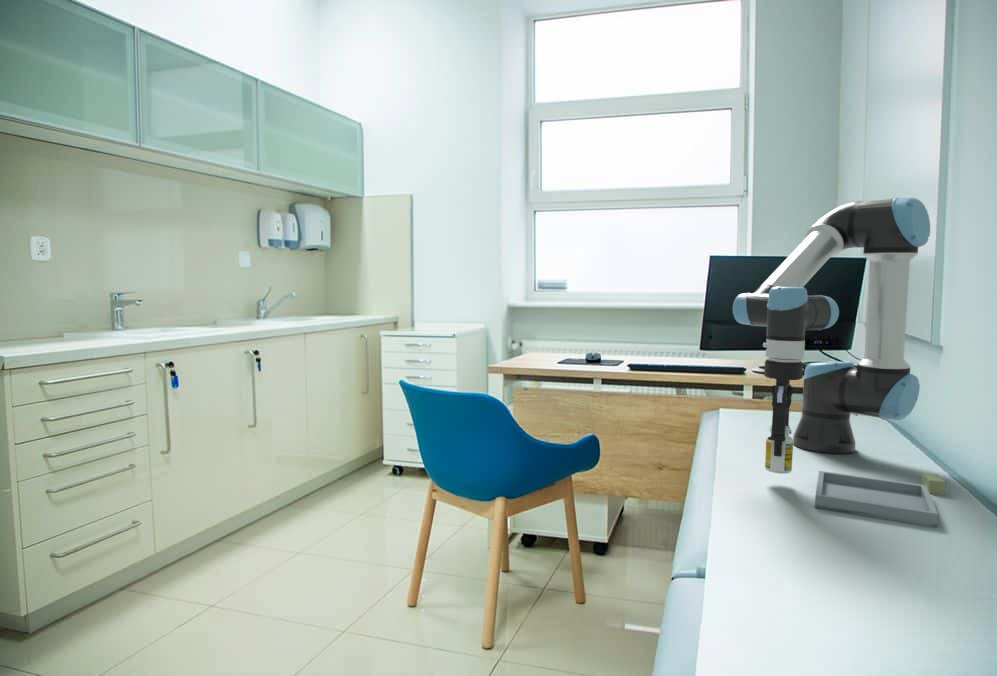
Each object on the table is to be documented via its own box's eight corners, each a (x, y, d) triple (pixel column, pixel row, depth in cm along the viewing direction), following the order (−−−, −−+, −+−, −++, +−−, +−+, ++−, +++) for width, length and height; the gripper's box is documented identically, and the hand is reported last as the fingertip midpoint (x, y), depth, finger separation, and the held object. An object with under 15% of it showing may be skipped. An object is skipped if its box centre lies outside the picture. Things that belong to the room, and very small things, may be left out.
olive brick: (921, 486, 148) (922, 472, 147) (937, 488, 147) (938, 474, 146) (928, 494, 142) (929, 480, 142) (944, 496, 141) (945, 482, 141)
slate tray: (818, 481, 148) (819, 470, 148) (925, 497, 139) (926, 485, 139) (814, 507, 130) (815, 495, 130) (936, 527, 121) (938, 514, 121)
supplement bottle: (774, 465, 148) (776, 422, 147) (796, 471, 144) (799, 427, 143) (759, 469, 145) (761, 425, 144) (781, 475, 141) (784, 430, 140)
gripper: (769, 354, 152) (764, 454, 154) (760, 363, 136) (754, 475, 138) (805, 356, 149) (800, 459, 151) (800, 366, 132) (794, 480, 135)
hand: (778, 466), depth 144 cm, fingers closed on supplement bottle, 5 cm apart
